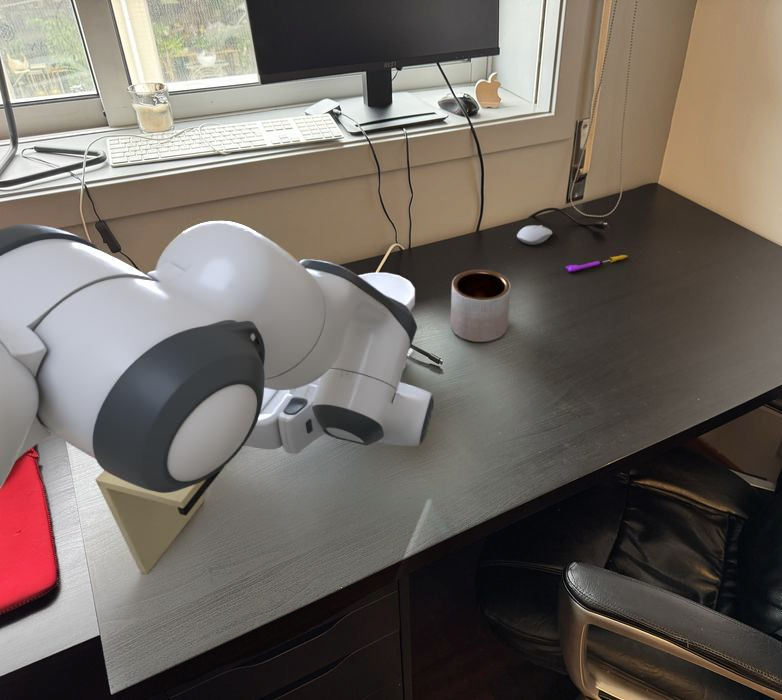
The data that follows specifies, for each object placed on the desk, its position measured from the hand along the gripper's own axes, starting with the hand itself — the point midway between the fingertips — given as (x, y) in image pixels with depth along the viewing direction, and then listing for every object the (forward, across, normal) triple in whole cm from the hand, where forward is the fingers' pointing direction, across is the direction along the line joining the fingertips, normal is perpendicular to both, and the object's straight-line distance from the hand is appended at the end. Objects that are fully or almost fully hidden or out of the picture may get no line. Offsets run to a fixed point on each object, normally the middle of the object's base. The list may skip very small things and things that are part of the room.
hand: (233, 377), depth 92 cm
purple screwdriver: (-46, -69, +10) cm, 83 cm away
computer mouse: (-30, -76, +10) cm, 83 cm away
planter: (-27, -37, +10) cm, 47 cm away
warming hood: (-6, +20, +10) cm, 23 cm away
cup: (-14, -21, +10) cm, 27 cm away
